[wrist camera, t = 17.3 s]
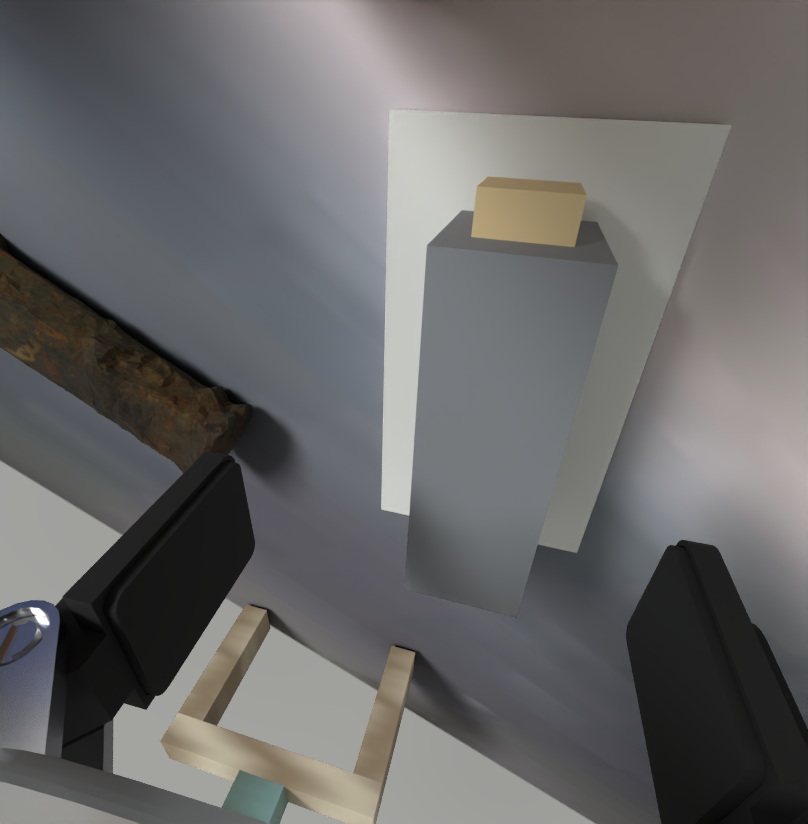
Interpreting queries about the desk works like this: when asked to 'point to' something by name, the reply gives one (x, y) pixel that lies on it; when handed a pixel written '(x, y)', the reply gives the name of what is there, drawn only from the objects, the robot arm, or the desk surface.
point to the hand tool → (112, 369)
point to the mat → (605, 203)
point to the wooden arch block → (275, 767)
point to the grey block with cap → (500, 384)
